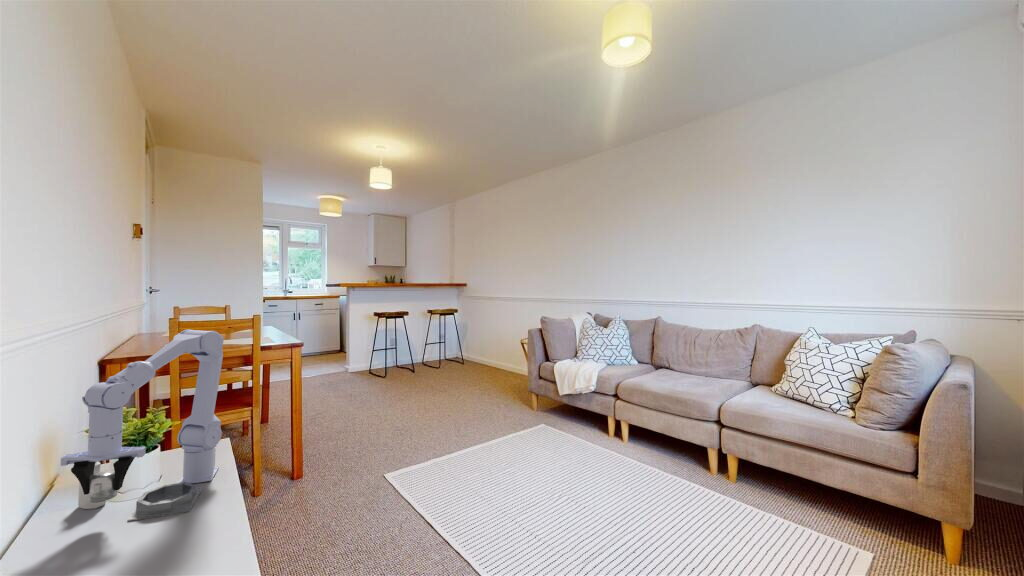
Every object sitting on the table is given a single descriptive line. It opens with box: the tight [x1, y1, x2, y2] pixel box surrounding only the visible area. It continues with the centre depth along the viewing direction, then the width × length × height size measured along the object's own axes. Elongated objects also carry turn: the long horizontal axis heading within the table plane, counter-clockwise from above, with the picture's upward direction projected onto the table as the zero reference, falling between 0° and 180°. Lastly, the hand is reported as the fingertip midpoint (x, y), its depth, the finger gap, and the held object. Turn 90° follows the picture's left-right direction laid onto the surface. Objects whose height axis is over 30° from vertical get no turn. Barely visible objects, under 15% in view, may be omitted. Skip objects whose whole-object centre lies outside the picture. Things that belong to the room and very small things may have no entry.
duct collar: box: [126, 482, 203, 523], centre depth 105 cm, size 12×12×3 cm
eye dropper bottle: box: [77, 461, 107, 510], centre depth 104 cm, size 4×6×12 cm
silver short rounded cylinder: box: [89, 469, 118, 503], centre depth 96 cm, size 6×5×6 cm
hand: (103, 490), depth 96 cm, fingers closed on silver short rounded cylinder, 5 cm apart
